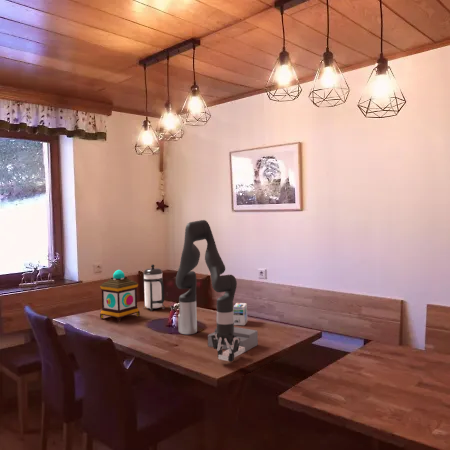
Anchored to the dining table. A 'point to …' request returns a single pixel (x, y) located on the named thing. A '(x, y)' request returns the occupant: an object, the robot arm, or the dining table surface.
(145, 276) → the coffee press
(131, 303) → the decorative lantern
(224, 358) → the pale flat bar
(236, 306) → the light bulb box
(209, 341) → the slot box
